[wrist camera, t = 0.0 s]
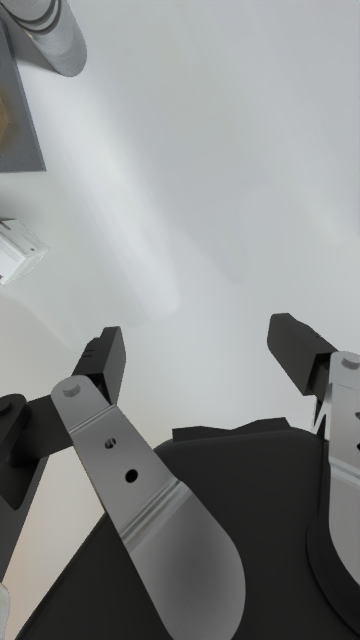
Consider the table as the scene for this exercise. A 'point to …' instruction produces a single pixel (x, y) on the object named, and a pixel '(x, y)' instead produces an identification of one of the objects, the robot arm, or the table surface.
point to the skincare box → (18, 250)
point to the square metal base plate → (15, 117)
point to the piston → (51, 32)
